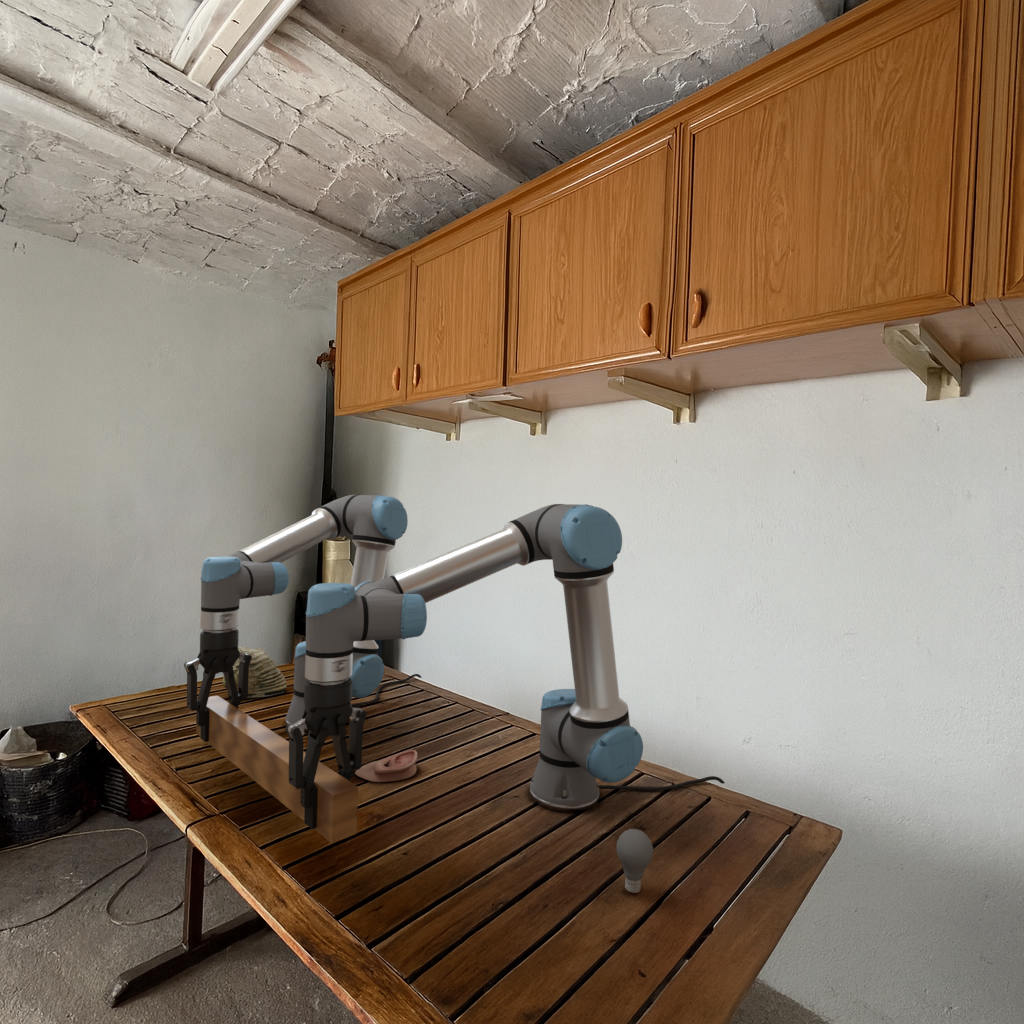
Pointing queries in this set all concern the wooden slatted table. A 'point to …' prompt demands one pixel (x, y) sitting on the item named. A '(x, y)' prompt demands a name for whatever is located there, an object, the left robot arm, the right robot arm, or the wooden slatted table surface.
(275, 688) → the fossil
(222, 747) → the beam
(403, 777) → the anatomical model
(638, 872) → the light bulb
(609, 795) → the wooden slatted table surface
